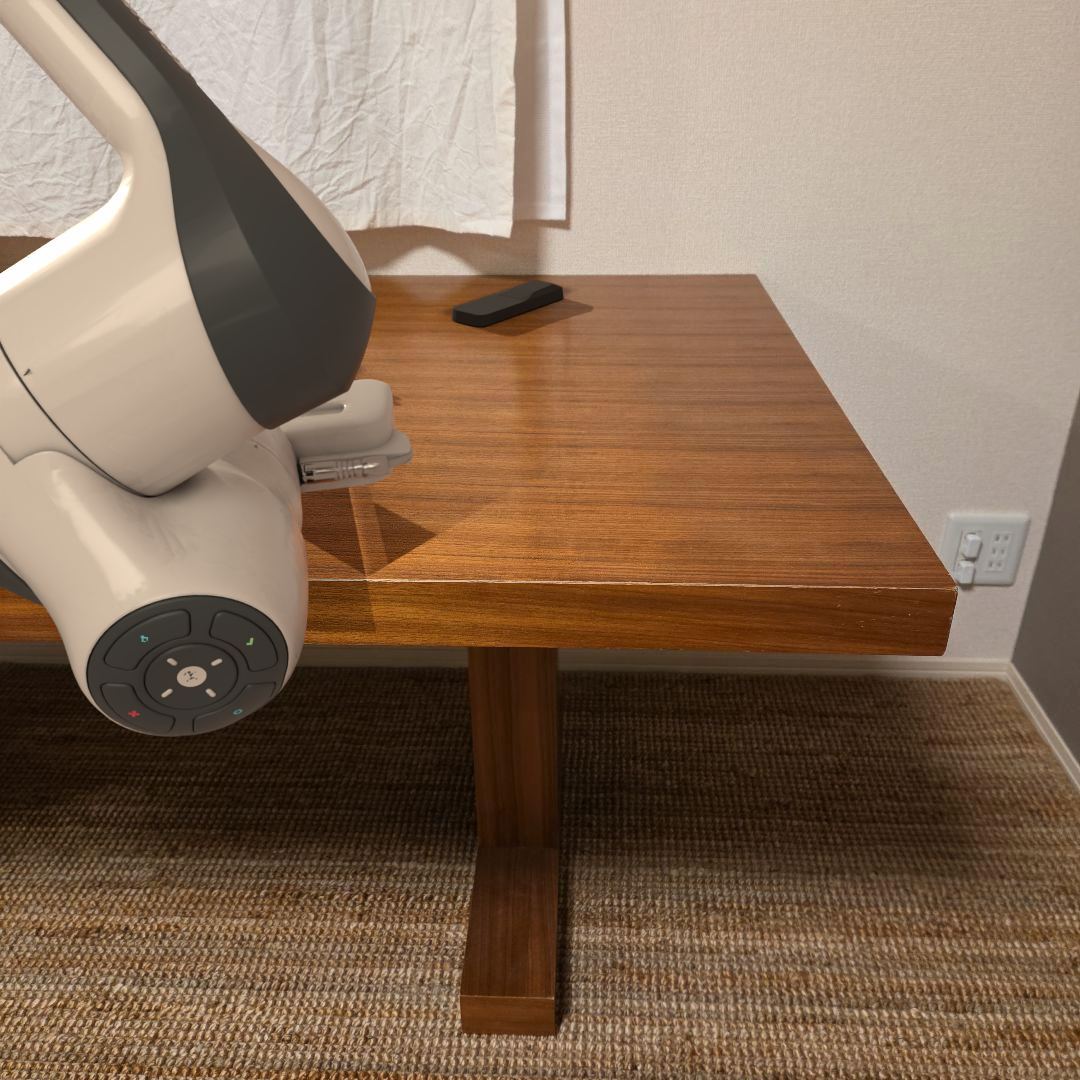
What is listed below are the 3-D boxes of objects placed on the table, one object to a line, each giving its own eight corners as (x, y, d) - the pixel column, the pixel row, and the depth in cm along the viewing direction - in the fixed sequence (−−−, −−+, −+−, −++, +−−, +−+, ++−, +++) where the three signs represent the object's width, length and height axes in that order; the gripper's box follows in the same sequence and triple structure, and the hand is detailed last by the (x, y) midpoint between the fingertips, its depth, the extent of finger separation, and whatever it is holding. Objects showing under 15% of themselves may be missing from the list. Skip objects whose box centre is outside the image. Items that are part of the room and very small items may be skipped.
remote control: (481, 333, 108) (567, 297, 118) (480, 316, 107) (566, 282, 117) (448, 324, 111) (534, 290, 121) (447, 308, 110) (534, 275, 120)
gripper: (414, 408, 50) (383, 328, 62) (-33, 452, 46) (25, 357, 58) (422, 520, 53) (391, 423, 65) (4, 571, 49) (52, 458, 61)
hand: (216, 392), depth 61 cm, fingers open, 8 cm apart
